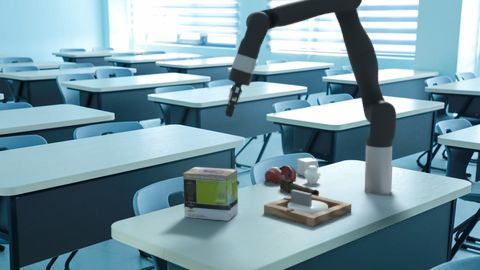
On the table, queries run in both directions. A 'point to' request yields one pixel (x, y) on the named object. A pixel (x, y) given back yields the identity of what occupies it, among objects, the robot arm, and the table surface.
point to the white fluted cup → (312, 174)
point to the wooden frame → (312, 220)
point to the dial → (305, 203)
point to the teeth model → (280, 174)
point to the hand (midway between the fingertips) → (228, 115)
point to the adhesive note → (305, 165)
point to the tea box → (210, 193)
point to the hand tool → (295, 187)
